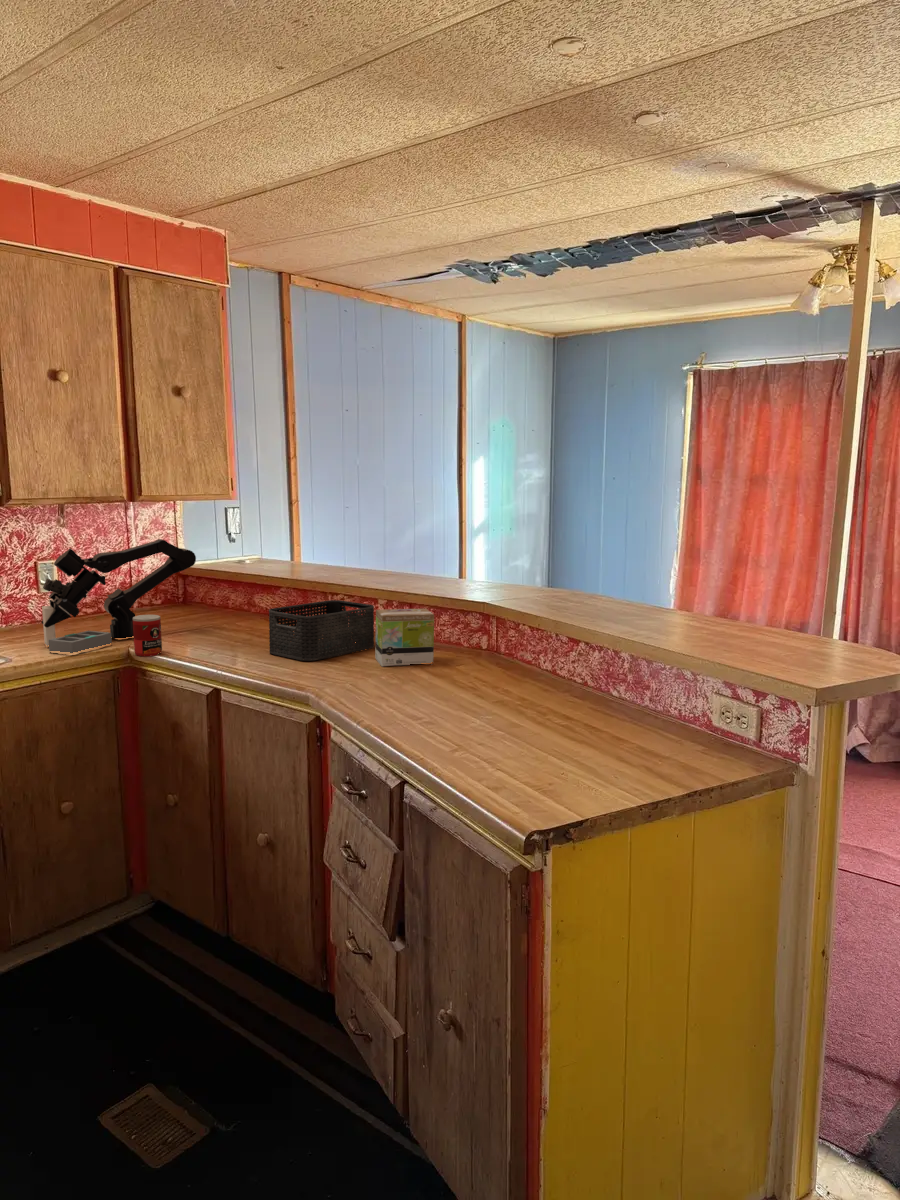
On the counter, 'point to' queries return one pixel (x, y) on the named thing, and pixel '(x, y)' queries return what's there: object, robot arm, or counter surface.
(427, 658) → the tea box
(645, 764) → the counter surface
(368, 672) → the counter surface
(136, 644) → the canned food
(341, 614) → the storage bin
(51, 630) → the block
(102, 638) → the frame
